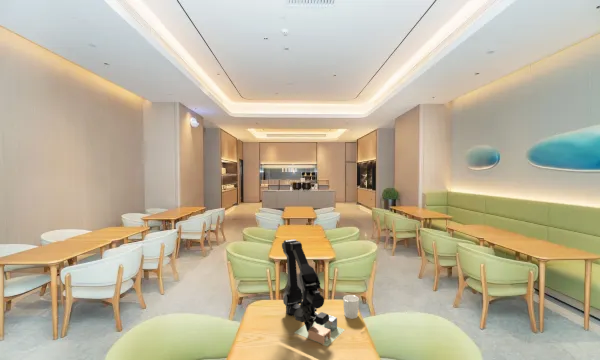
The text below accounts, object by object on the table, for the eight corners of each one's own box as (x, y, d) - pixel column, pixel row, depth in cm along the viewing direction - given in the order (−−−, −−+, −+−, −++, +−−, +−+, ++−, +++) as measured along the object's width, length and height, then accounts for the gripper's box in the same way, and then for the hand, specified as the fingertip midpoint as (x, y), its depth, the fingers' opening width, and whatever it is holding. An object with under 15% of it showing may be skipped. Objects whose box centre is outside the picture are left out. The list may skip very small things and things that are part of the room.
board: (294, 334, 138) (294, 325, 138) (313, 320, 151) (313, 311, 151) (327, 348, 127) (327, 338, 127) (345, 331, 140) (345, 322, 140)
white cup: (358, 321, 149) (358, 302, 149) (342, 320, 151) (342, 300, 150) (358, 314, 157) (358, 295, 156) (343, 312, 158) (343, 294, 158)
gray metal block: (324, 329, 141) (324, 318, 141) (329, 324, 144) (329, 314, 144) (332, 332, 138) (332, 321, 138) (337, 327, 142) (337, 317, 142)
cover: (308, 337, 133) (308, 330, 133) (315, 331, 138) (315, 324, 138) (323, 344, 128) (323, 336, 128) (330, 337, 133) (330, 329, 133)
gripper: (281, 299, 135) (282, 333, 136) (315, 311, 124) (316, 347, 125) (296, 291, 144) (296, 322, 145) (329, 301, 133) (329, 335, 133)
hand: (308, 331), depth 137 cm, fingers closed
